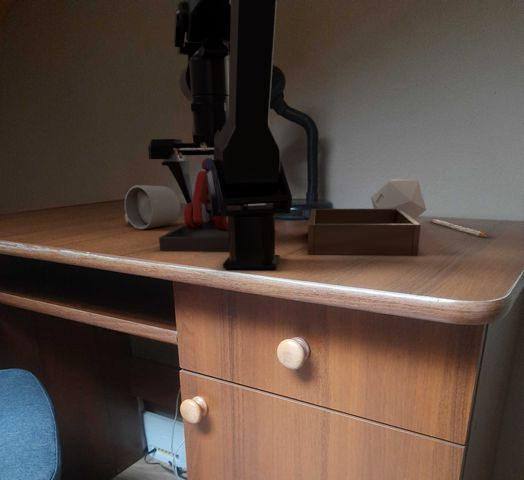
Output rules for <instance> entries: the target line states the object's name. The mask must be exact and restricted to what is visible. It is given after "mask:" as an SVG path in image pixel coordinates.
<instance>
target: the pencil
mask: <svg viewBox="0 0 524 480" xmlns="http://www.w3.org/2000/svg"><path fill="white" fill-rule="evenodd" d="M430 223H433V224H436V225H440V226H443V227H446V228H450V229H453V230H456V231H459V232H463V233H466V234H470V235H474V236H477V237H480V238H482V237H483V238H487V237H488V236H487V235H486V234H485V233H484V232H482V231H479V230H475V229H472V228H468V227H465V226H460V225H458V224H454V223H451V222H447V221H443V220H440V219H437V218H432V219H431V220H430Z"/></svg>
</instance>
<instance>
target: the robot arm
mask: <svg viewBox="0 0 524 480" xmlns="http://www.w3.org/2000/svg"><path fill="white" fill-rule="evenodd" d="M277 1H278V0H180V1H178V3H177V8H176V10H175V11H174V27H173V30H174V31H173V45H174V48H176V54H177V56H187V65H186V66H185V67H184V68H183V69H182V71H181V73H180V76H179V88H180V90H181V93H182V95H183V96H184V97H185V98H186V99H187V100H188V101H190V102H191V103H190V112H191V113H192V130H191V131H192V133H191V135H192V142H183V139H182V138H181V139H180V138H179V139H178V138H152V139H150V141H149V143H148V146H147V153H148V159H149V160H162V161H161V166H163V167H165V166H166V167H167V168H168V170H169V171H170V173H171V174H172V176H173V178H174V179H175V181H176V183H177V185H178V187H179V189H180V191H181V194H182V195H183V197H184V200H185V202H186V205H188V204H189V203H190V202H193V201H192V200H193V189H192V181H191V177H190V176H191V175H190V163H191V162H190V160H185V158H186V156H213V159H212V160H211V161H210V166H209V171H208V172H207V173H206V179H207V184H208V189H209V194H210V200H211V214H212V216H220V217H226V216H228V234H229V251H228V255H229V256H228V257H227V258H226V260H225V261H224V262H223V263H222V269H226V270H227V269H228V270H229V269H230V270H231V269H232V270H235V269H236V270H241V269H242V270H276V269H277V268H278V265H279V263H280V260H281V255H280V254H276V214H277V215H278V214H285V215H288V214H291V209H292V204H293V203H292V202H293V194H292V192H291V189H290V185H289V182H288V180H287V176H286V173H285V169H284V166H283V163H282V160H281V158H282V157H281V153H282V152H281V148H280V146H279V143H278V141H277V140H276V138H275V136H274V134H273V131H272V129H271V128H270V108H271V93H272V78H273V63H274V49H275V33H276V20H277V19H276V18H277V5H278V4H277ZM185 40H186V41H185ZM204 145H205V146H206V147H202V146H204ZM246 204H248V206H244V205H246ZM227 205H240V206H230V207H227Z"/></svg>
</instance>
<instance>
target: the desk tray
mask: <svg viewBox="0 0 524 480" xmlns="http://www.w3.org/2000/svg"><path fill="white" fill-rule="evenodd" d="M158 243H159V251H160V252H161V251H162V252H229V234H228V231H220V230H218V229H217V228H216V226H215V225H207V224H205V225H202V227H201V228H200V229H190V228H188V227H187V226H186V224H185V223H183V224H181V225H180V226H178V227H176V228H174V229H172V230H170V231H168V232H167V233H165V234H163V235H161V236H159V237H158Z"/></svg>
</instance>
